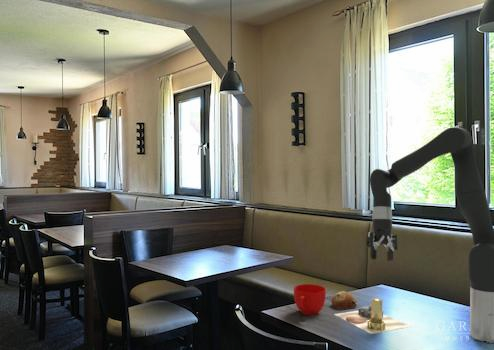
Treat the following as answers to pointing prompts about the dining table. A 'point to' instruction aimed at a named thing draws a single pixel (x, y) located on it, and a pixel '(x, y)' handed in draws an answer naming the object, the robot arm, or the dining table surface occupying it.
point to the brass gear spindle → (376, 315)
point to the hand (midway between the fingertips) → (381, 260)
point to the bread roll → (343, 300)
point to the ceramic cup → (309, 298)
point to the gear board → (364, 315)
